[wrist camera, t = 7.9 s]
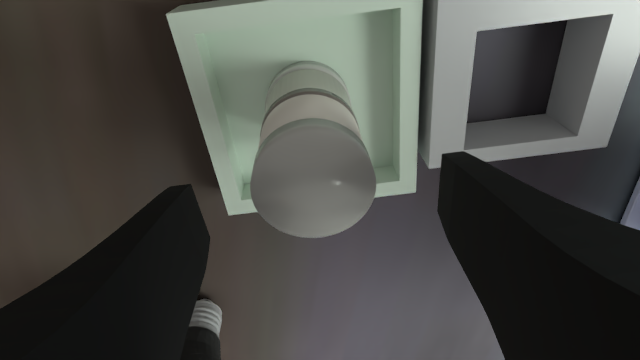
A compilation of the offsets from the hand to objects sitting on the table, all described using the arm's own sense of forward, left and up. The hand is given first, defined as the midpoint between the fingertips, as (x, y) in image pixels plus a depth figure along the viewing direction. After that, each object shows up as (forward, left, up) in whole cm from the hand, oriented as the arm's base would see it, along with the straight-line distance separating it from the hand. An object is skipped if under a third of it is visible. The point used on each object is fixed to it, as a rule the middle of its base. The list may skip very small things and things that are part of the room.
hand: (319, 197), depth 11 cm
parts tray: (0, 0, -8) cm, 8 cm away
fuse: (0, 0, -7) cm, 7 cm away
